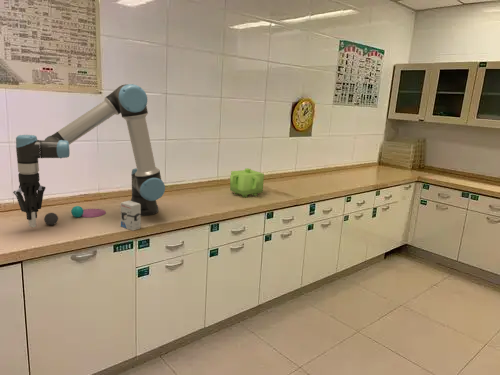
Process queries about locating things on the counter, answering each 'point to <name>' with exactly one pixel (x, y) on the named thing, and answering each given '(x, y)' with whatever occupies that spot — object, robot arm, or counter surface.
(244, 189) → the green ribbed block
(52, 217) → the black ball
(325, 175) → the counter surface
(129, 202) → the ink box
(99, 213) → the plum mark
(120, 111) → the robot arm
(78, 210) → the teal ball
